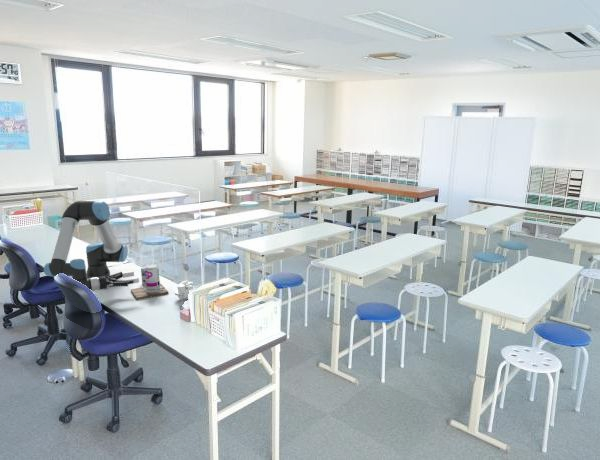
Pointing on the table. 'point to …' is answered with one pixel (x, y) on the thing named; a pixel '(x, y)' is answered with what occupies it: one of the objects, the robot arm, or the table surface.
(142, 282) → the light bulb box
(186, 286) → the mechanical part
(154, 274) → the supplement can
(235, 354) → the table surface
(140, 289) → the gear board
